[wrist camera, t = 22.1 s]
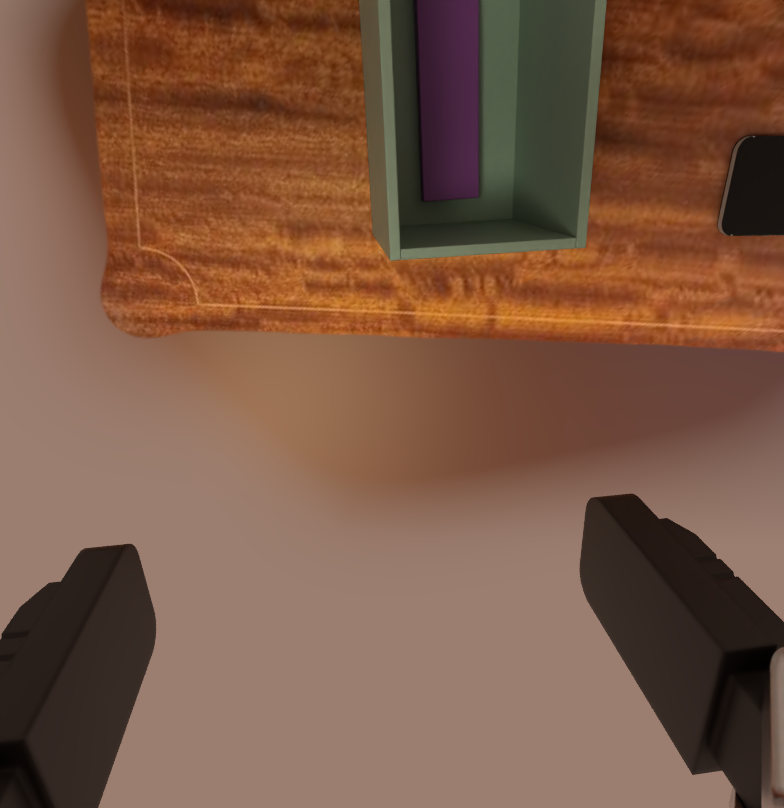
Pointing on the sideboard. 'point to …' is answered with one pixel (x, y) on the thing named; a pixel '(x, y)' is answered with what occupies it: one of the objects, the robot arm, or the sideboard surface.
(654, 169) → the sideboard surface
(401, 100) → the trash bin
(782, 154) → the smartphone
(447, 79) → the chocolate bar
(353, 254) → the sideboard surface
